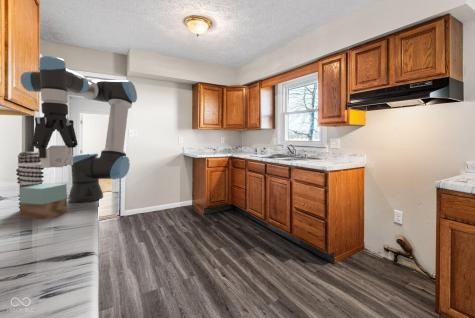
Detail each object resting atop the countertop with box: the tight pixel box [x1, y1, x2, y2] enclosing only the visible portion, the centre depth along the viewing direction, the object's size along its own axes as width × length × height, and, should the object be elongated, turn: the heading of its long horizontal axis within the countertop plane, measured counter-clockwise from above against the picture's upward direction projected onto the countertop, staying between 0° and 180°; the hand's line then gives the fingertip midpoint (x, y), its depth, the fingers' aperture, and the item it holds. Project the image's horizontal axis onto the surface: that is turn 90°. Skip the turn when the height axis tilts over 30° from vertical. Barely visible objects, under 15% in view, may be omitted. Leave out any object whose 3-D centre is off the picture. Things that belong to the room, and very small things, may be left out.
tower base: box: [19, 197, 68, 220], centre depth 99 cm, size 10×10×6 cm
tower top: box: [18, 182, 68, 204], centre depth 99 cm, size 10×10×6 cm
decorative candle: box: [15, 151, 45, 212], centre depth 106 cm, size 9×9×25 cm
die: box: [47, 145, 74, 168], centre depth 89 cm, size 8×9×10 cm
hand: (58, 166), depth 89 cm, fingers closed on die, 9 cm apart
